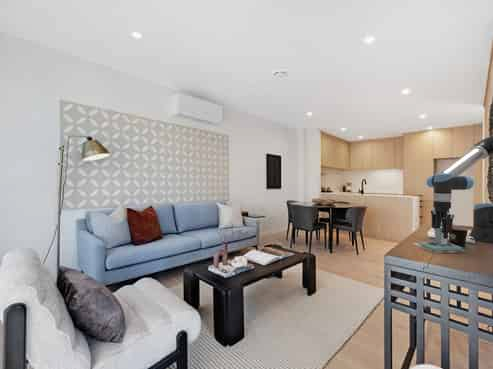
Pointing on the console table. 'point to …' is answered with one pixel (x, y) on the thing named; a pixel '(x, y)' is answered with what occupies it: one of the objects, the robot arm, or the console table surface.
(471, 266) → the console table surface
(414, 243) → the boss board
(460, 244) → the coffee mug
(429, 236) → the console table surface
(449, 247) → the panel
